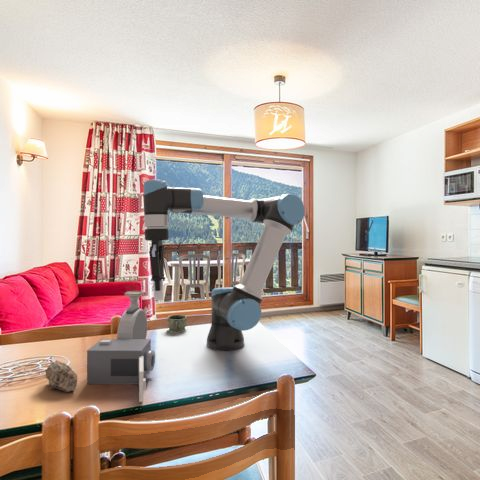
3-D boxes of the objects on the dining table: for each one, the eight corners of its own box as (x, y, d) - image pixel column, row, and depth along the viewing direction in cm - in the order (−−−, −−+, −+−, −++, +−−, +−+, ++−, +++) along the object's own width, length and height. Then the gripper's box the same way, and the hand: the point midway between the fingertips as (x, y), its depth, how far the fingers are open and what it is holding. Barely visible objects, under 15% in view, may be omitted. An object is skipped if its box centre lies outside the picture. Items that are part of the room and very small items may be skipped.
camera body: (157, 369, 102) (157, 336, 101) (148, 384, 92) (148, 348, 91) (101, 369, 101) (101, 336, 101) (86, 384, 91) (86, 348, 91)
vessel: (168, 326, 149) (168, 313, 149) (186, 326, 150) (187, 313, 150) (166, 334, 137) (166, 320, 137) (186, 333, 138) (186, 320, 138)
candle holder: (149, 340, 130) (150, 291, 129) (132, 346, 122) (132, 295, 122) (135, 336, 134) (136, 289, 134) (118, 341, 127) (118, 292, 127)
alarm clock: (127, 348, 120) (128, 301, 119) (153, 349, 119) (154, 302, 119) (108, 366, 103) (108, 312, 103) (138, 367, 103) (139, 313, 103)
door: (138, 383, 91) (138, 356, 91) (145, 382, 92) (145, 355, 91) (138, 402, 81) (138, 371, 81) (145, 401, 81) (145, 371, 81)
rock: (55, 358, 95) (34, 367, 85) (92, 358, 95) (75, 367, 85) (53, 382, 94) (31, 394, 84) (90, 382, 94) (73, 394, 84)
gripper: (149, 228, 107) (151, 296, 108) (139, 228, 94) (142, 305, 95) (171, 228, 108) (173, 295, 108) (164, 227, 95) (167, 304, 95)
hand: (158, 299), depth 102 cm, fingers closed
